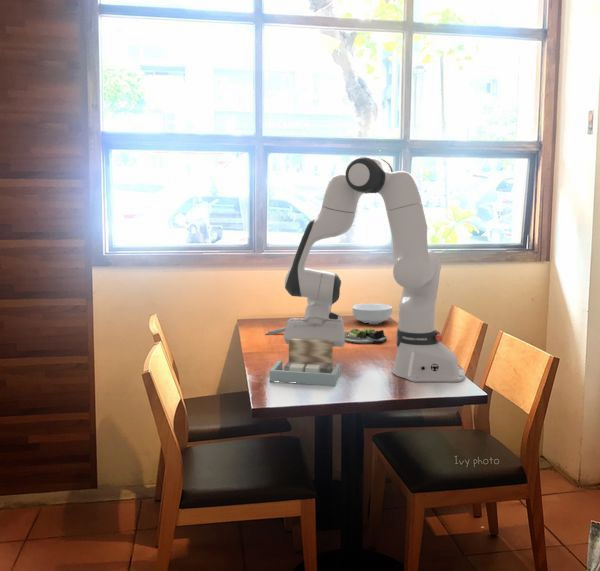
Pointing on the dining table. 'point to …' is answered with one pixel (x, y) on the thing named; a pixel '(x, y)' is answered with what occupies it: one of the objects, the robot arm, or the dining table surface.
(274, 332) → the caliper
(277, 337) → the dining table surface
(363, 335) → the salad plate
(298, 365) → the cream block
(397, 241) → the robot arm
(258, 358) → the dining table surface
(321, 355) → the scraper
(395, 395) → the dining table surface
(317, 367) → the cream block
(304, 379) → the tray
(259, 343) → the dining table surface
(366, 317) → the cereal bowl
